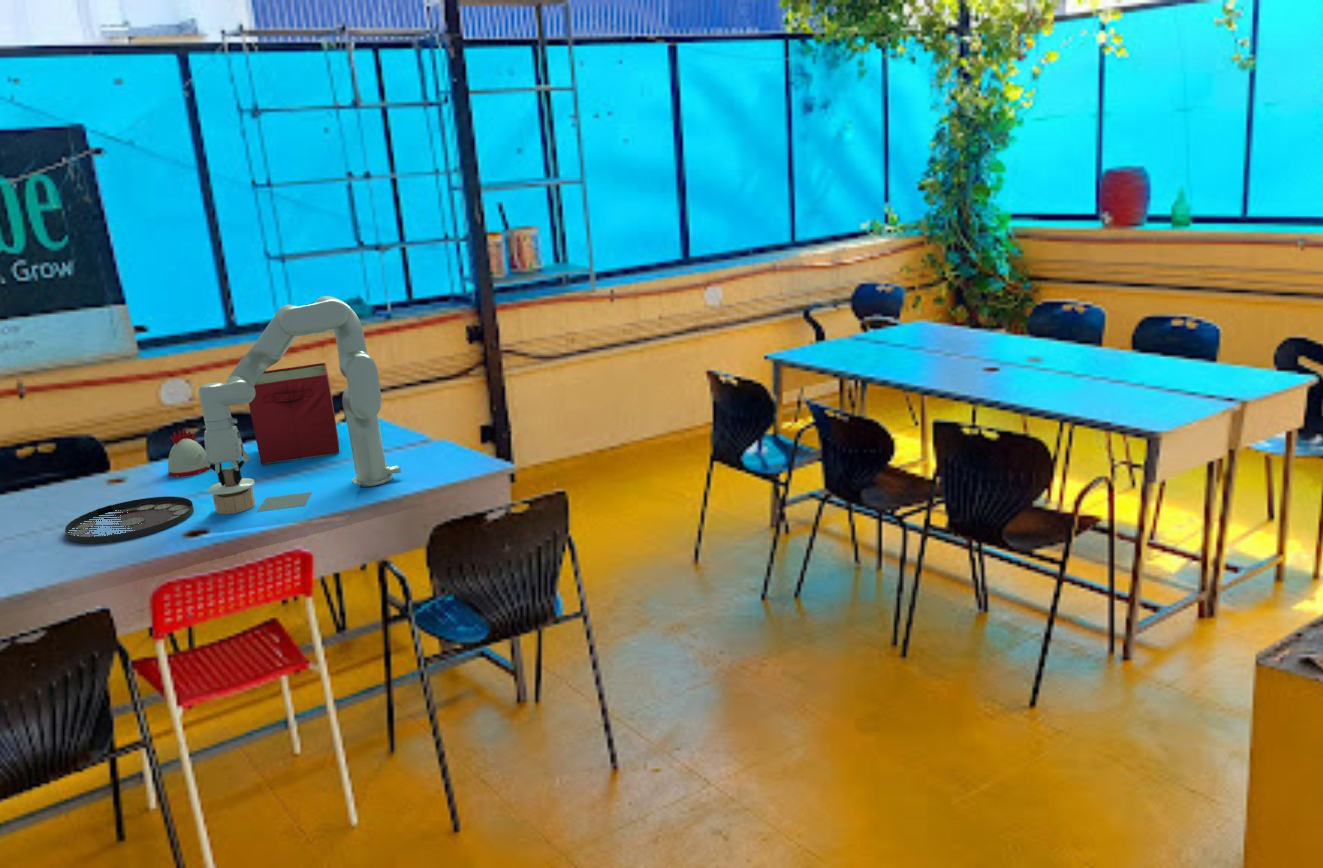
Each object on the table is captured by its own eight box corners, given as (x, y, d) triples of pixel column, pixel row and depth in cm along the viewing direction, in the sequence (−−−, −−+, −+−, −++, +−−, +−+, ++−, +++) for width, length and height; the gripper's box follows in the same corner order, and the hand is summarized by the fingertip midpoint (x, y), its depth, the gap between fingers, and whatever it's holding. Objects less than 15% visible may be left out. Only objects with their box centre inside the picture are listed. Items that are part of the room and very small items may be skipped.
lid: (258, 478, 338) (255, 460, 336) (249, 491, 325) (245, 472, 324) (215, 484, 336) (211, 465, 335) (204, 496, 324) (200, 478, 322)
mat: (312, 494, 342) (312, 491, 341) (305, 508, 328) (304, 505, 328) (266, 500, 340) (266, 497, 340) (257, 515, 327) (256, 511, 326)
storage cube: (262, 447, 407) (247, 370, 400) (338, 435, 414) (325, 360, 407) (259, 469, 377) (243, 387, 370) (341, 455, 385) (327, 375, 377)
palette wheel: (160, 498, 355) (158, 490, 354) (215, 514, 333) (214, 505, 332) (47, 533, 329) (45, 524, 329) (99, 552, 307) (97, 544, 307)
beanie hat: (163, 473, 384) (154, 431, 380) (203, 462, 393) (194, 422, 389) (177, 479, 374) (168, 437, 370) (217, 469, 382) (209, 427, 378)
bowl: (259, 502, 338) (255, 484, 337) (251, 514, 328) (247, 495, 326) (222, 507, 337) (218, 489, 336) (213, 519, 327) (209, 500, 325)
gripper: (250, 418, 330) (262, 476, 335) (193, 425, 328) (205, 483, 333) (245, 424, 323) (257, 483, 328) (186, 431, 321) (199, 490, 326)
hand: (231, 482), depth 330 cm, fingers closed on lid, 3 cm apart
